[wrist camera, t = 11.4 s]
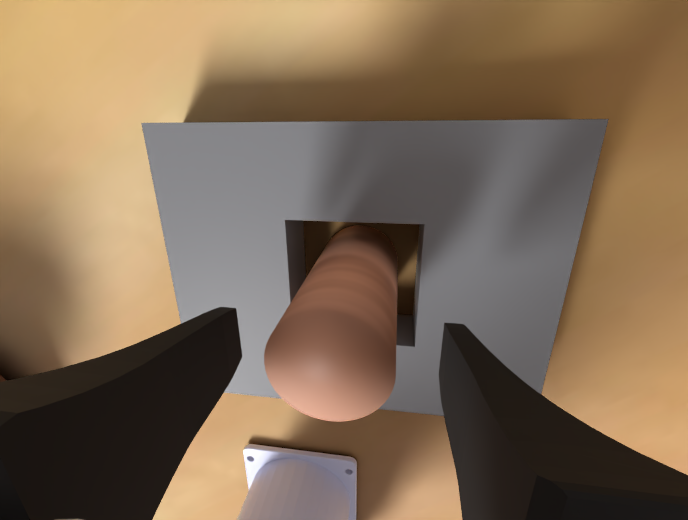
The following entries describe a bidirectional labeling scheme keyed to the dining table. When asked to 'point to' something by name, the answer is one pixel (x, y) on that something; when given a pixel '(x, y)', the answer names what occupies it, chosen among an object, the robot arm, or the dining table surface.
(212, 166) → the grey flat holed block
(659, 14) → the dining table surface
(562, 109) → the dining table surface
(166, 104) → the dining table surface
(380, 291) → the terracotta peg
